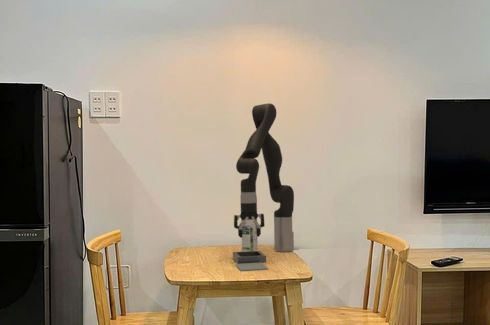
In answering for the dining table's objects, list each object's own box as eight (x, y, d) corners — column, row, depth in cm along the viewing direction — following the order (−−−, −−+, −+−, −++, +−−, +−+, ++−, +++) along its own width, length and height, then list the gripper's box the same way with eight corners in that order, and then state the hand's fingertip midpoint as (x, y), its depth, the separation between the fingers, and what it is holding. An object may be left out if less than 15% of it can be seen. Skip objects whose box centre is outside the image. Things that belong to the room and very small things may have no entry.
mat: (261, 263, 219) (261, 262, 219) (268, 269, 207) (268, 268, 207) (235, 265, 216) (235, 264, 216) (240, 271, 205) (240, 270, 205)
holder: (259, 256, 233) (259, 250, 233) (266, 262, 221) (266, 255, 221) (232, 258, 231) (232, 252, 231) (237, 264, 218) (237, 257, 218)
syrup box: (241, 250, 225) (240, 219, 224) (247, 248, 230) (246, 217, 229) (252, 251, 222) (251, 219, 222) (258, 249, 227) (257, 218, 227)
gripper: (261, 200, 231) (262, 234, 231) (231, 201, 228) (232, 236, 228) (265, 201, 223) (266, 237, 224) (234, 203, 220) (235, 239, 221)
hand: (249, 236), depth 226 cm, fingers closed on syrup box, 8 cm apart
